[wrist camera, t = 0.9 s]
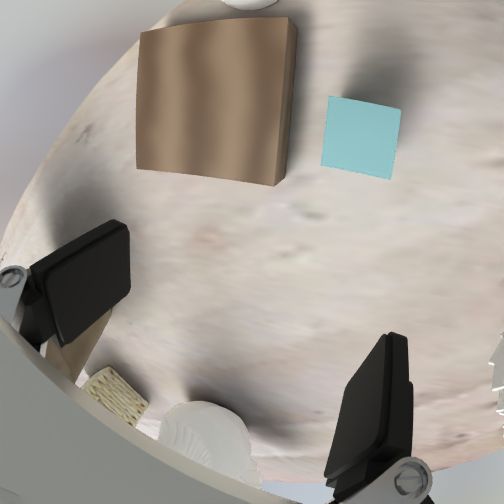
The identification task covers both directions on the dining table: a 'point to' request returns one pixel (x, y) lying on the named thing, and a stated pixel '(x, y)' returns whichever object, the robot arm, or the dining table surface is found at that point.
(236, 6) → the pill bottle
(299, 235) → the dining table surface
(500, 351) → the spiral staircase
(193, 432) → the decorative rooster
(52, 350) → the plant pot
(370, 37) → the dining table surface
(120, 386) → the storage basket
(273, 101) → the wavy brown panel
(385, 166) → the teal carton
